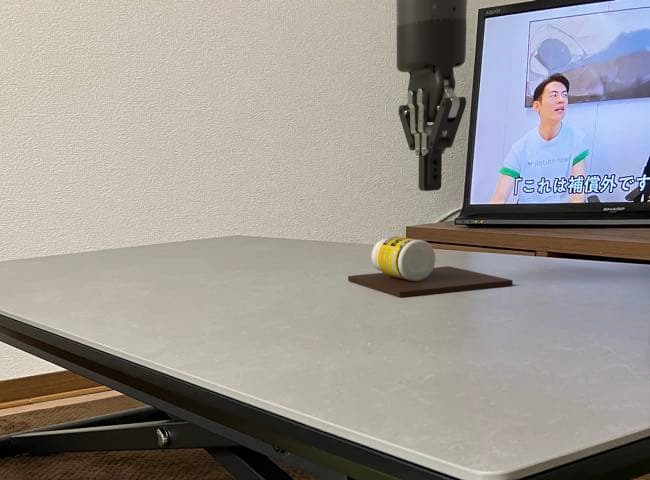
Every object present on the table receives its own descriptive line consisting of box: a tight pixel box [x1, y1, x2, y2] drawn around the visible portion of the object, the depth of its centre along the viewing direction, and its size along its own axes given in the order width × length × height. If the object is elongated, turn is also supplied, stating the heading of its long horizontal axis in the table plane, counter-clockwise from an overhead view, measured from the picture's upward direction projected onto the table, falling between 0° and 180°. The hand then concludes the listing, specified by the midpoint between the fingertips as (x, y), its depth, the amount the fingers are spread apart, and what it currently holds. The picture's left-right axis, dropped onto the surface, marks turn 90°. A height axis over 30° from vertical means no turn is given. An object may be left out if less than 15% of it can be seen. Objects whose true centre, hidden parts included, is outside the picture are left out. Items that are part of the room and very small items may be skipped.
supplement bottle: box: [371, 236, 436, 282], centre depth 109 cm, size 5×5×8 cm
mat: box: [347, 265, 513, 298], centre depth 109 cm, size 14×16×1 cm
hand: (429, 190), depth 105 cm, fingers closed
